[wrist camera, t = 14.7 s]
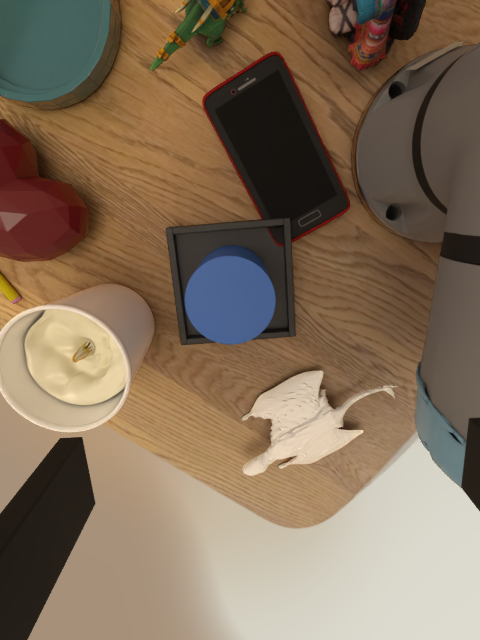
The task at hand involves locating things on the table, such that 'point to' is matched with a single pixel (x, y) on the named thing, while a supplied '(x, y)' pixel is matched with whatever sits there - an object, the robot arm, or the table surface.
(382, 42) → the figurine
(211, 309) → the blue pillar candle
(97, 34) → the bowl
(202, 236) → the tray
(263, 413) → the winged dragon toy
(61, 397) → the candle holder
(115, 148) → the table surface
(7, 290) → the pencil
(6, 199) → the heart
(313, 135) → the cell phone
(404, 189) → the robot arm
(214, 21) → the figurine
